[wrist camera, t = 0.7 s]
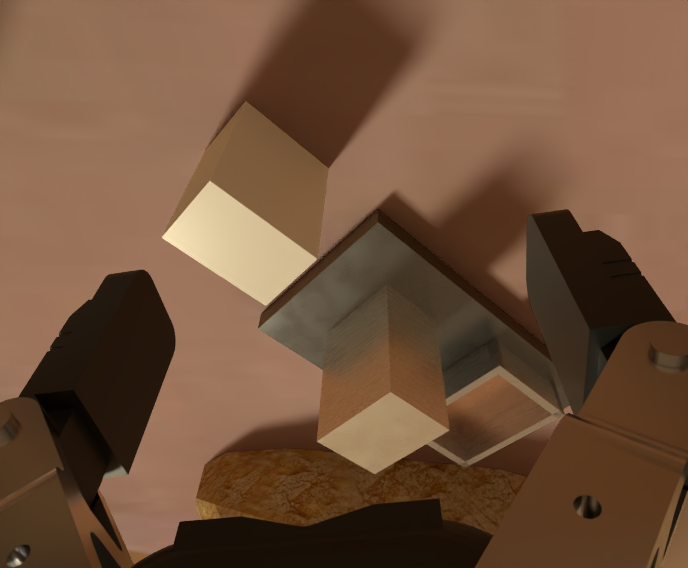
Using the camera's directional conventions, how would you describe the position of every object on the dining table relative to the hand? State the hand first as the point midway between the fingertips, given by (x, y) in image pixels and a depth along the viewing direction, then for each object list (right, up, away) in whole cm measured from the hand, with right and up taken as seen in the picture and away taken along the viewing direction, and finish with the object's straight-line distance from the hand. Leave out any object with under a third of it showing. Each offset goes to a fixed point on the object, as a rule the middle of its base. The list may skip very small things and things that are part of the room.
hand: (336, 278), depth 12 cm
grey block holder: (+6, -5, +31) cm, 32 cm away
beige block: (-4, +7, +22) cm, 23 cm away
